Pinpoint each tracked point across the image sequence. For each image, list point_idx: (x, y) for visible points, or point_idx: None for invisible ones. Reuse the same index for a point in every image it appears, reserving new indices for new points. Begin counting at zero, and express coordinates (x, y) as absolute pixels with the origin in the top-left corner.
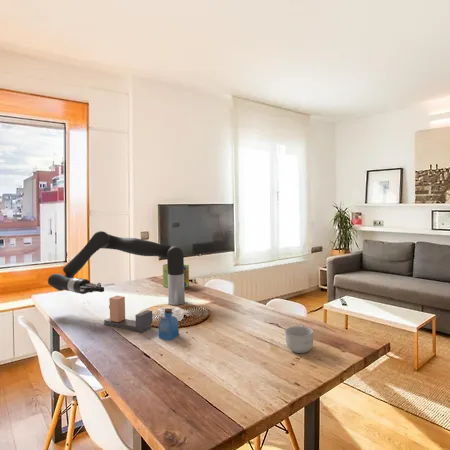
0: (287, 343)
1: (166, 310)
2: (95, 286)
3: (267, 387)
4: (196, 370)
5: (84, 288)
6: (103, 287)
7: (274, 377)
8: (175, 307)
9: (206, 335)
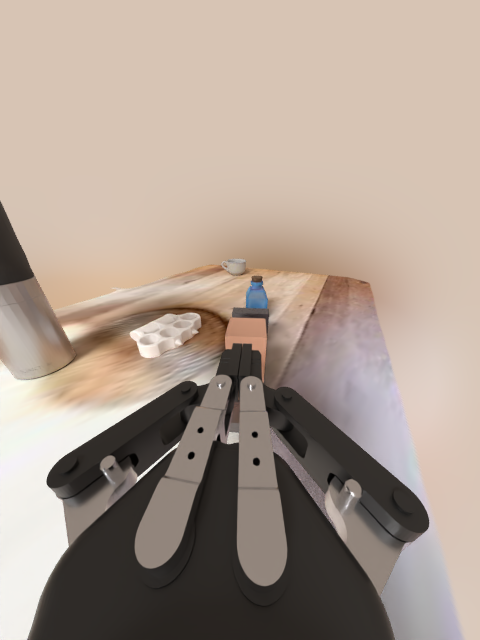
0: (242, 269)
1: (261, 277)
2: (253, 379)
3: (291, 275)
4: (302, 289)
5: (356, 450)
6: (235, 343)
7: (278, 275)
8: (139, 330)
9: (234, 298)
